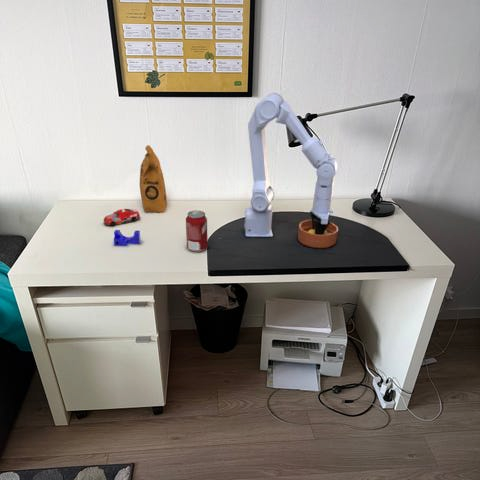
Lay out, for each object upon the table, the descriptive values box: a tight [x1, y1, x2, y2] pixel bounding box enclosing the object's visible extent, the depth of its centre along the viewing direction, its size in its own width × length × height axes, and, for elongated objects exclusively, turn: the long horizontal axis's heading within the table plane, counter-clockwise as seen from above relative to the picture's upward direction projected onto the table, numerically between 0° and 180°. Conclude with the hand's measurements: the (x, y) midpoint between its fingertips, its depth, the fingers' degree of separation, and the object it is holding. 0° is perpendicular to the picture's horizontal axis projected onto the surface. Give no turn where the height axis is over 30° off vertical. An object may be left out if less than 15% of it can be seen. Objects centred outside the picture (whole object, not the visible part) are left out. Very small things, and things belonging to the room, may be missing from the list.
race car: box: [103, 208, 141, 227], centre depth 158 cm, size 13×5×4 cm, turn 123°
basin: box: [296, 218, 339, 249], centre depth 150 cm, size 13×13×5 cm
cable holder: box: [113, 229, 142, 247], centre depth 144 cm, size 8×4×4 cm, turn 90°
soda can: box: [185, 210, 208, 253], centre depth 140 cm, size 7×7×12 cm
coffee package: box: [139, 144, 168, 213], centre depth 165 cm, size 10×12×22 cm
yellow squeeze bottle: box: [308, 229, 331, 235], centre depth 150 cm, size 8×3×3 cm, turn 93°
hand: (317, 235), depth 151 cm, fingers open, 4 cm apart
